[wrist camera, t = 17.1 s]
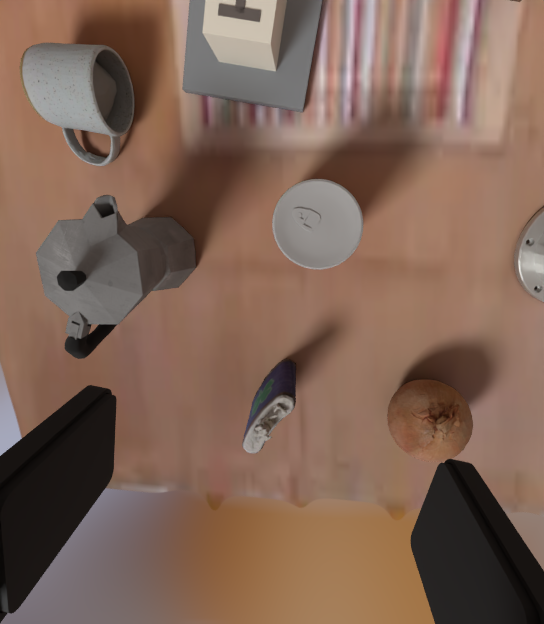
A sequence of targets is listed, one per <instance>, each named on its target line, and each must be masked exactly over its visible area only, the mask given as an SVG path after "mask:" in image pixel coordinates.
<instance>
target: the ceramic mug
mask: <svg viewBox="0 0 544 624" xmlns="http://www.w3.org/2000/svg"><path fill="white" fill-rule="evenodd" d="M20 77H21V83H22V87H23V90H24V93H25V95H26V97H27V99H28V101H29V103H30V105H31V106H32V107H33V109H34V110H35V111H36V112H37V114H38V115H40V116H41V117H42V118H43V119H44V120H46V121H48V122H50V123H52V124H55V125H58V126H61V127H62V129H63V134H64V137H65V139H66V142H67V143H68V145H69V147H70V148H71V150H72V151H73V152H74V153H75V154H76V155H77V156H78V157H79V158H80V159H81V160H83V161H85V162H87V163H89V164H92V165H96V166H105V165H107V164H109V163H110V162H112V161H114V160H115V159H116V157H117V156H118V154H119V151H120V136H122V135H124V134H125V133H127V132H128V130H129V129H130V127H131V124H132V121H133V116H134V92H133V85H132V82H131V78H130V75H129V72H128V70H127V67H126V65H125V63H124V62H123V60H122V58H121V57H120V56H119V55H118V53H117V52H116V51H115V50H113V49H112V48H110V47H108V46H105V45H86V44H61V43H41V44H36V45H33V46H31V47H29V48H27V49H26V51H25V52H24V54H23V56H22V58H21V62H20ZM73 129H79V130H85V131H90V132H95V133H102V134H107V135H109V136H110V138H111V150H110V154H109V156H108V157H107V158H105V157H100V156H96V155H93V154H92V153H90V152H86V151H85V150H84V149H83V148H82V146H81V145H80V144H79V142H78V140H77V139H76V136H75V133H74V130H73Z"/></svg>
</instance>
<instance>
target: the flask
mask: <svg viewBox="0 0 544 624" xmlns="http://www.w3.org/2000/svg"><path fill="white" fill-rule="evenodd" d="M295 385H296V363H294V362H292V361H291V360H288V359H285V360H282V361H281V362H280V363H278V364H277V365H276V366H275V367H274V368H273V369H272V370H271V372H269V374H268V375H267V377H266V378H265V379H264V381H263V383H262V384H261V386H260V388H259V390H258V392H257V393H256V396H255V397H254V400H253V402H252V408H251V411H250V416H249V420H248V423H247V427H246V431H245V434H244V439H243V443H242V446H243V448H244V449H245V450H246V451H247V452H249V453H258V452H259V451H260V450H261V449H262V447H263V445H264V443H265V441H267V440H268V439H271V438H272V437H271V436H269V434H270V433H271V432H272V430H273V429H274V428H275V426H276V425H277V424H278V423H279V422H280V421H281V420H282V419H283V418H284V417H285V416H286V415H288V414H290V412H291V411H292V410H293V409H294V406H295V402H296V398H295V396H296V395H295V387H296V386H295Z"/></svg>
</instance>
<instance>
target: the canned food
mask: <svg viewBox="0 0 544 624" xmlns="http://www.w3.org/2000/svg"><path fill="white" fill-rule="evenodd" d="M272 225H273V233H274V238H275V240H276V242H277V245H278V247H279V248H280V249H281V251H282V252H283V254H284V255H285V256H286V257H287V258H288V259H290V260H291V261H293V262H294V263H296V264H297V265H300V266H302V267H305V268H309V269H327V268H331V267H334V266H337V265H339V264H340V263H342V262H344V261H345V260H346V259H347V258H349V257H350V256H351V255H352V254H353V252H354V251H355V250H356V248H357V246H358V244H359V242H360V240H361V236H362V232H363V217H362V212H361V209H360V207H359V204H358V203H357V201H356V199H355V198H354V196H353V195H352V194H351V193H350V192H349V191H348V190H347V189H345V188H344V187H342V186H341V185H340V184H337V183H335V182H333V181H330V180H325V179H310V180H305V181H302V182H300V183H298V184H295V185H294V186H292V187H291V188H290V189H288V190H287V191H286V192H285V193H284V194H283V195H282V196H281V198H280V200H279V201H278V203H277V205H276V208H275V210H274V214H273V220H272Z"/></svg>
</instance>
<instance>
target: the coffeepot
mask: <svg viewBox="0 0 544 624" xmlns="http://www.w3.org/2000/svg"><path fill="white" fill-rule="evenodd" d="M195 255H196V253H195V247H194V238H193V237H192V236H191V235H190V234H189V233H188V232H187V231H186V230H185V229H184V228H183V227H182V226H180V225H179V224H178V223H177V222H176V221H175V220H174V219H173V218H172V217H158V218H141V219H139V220H137V221H135V222H133V223H131V224H129V225H127V224H126V223H125V221H124V220H123V218H122V217H121V215H120V213H119V212H118V210H117V204H116V200H115V198H114V197H113V196H111V195H103V196H100V197H98V198H97V199H96V200H95V202H94V203H93V204H92V205H91V207H90V208H89V210H88V211H87V213H86V214H85V216H84V217H83V219H79V220H58V222H57V223H56V225H55V226H54V228H53V229H52V231H51V232H50V233H49V235H48V236H47V238H46V239H45V241H44V242H43V243H42V245H41V246H40V248H39V249H38V251H37V252H36V256H37V261H38V265H39V270H40V275H41V279H42V284H43V288H44V293H45V296H46V297H47V298H49V299H50V300H51V301H52V302H53V303H54V304H56V305H57V306H58V307H59V308H60V309H61V310H63V311H64V312H65V313H66V314H67V315H69V316H70V317H69V318H68V323H67V327H66V332H65V333H67V334H69V336H68V338H67V339H66V342H65V350H66V351H67V352H68V353H70V354H71V355H72V356H74V357H75V358H78V359H81V358H85V357H87V356H88V355H89V354H90V353H91V352H92V351H93V350H94V349H95V348H96V347H97V345H98V344H99V343H100V342H101V341H102V340H103V339H104V338H105V337H106V336H107V335H108V334H109V333H110V332H111V331H112V330H113V329H114V328H115V326H116V325H117V324H119V323H120V322H121V321H122V320H123V319H124V318H125V317H126V316H127V315H128V314H129V313H130V312H131V311H132V310H133V309H134V308H135V307H136V306H137V305H138V304H139V303H140V302H141V301H142V300H143V299H144V298H145V297H146V296H147V295H148V294H149V293H150V292H151V291H157V290H164V289H170V288H177V287H179V286H180V285H181V284H182V283H183V282H184V281H185V280H186V279H187V277H188V276H189V275H190V274H191V273H192V271H193V270H194V269H195V268H196V260H195ZM91 324H99V325H98V326H97V327H96V329H95V330H94V331H93V332H92V333H90V334H89V331H90V328H91ZM88 334H89V335H88Z"/></svg>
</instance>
